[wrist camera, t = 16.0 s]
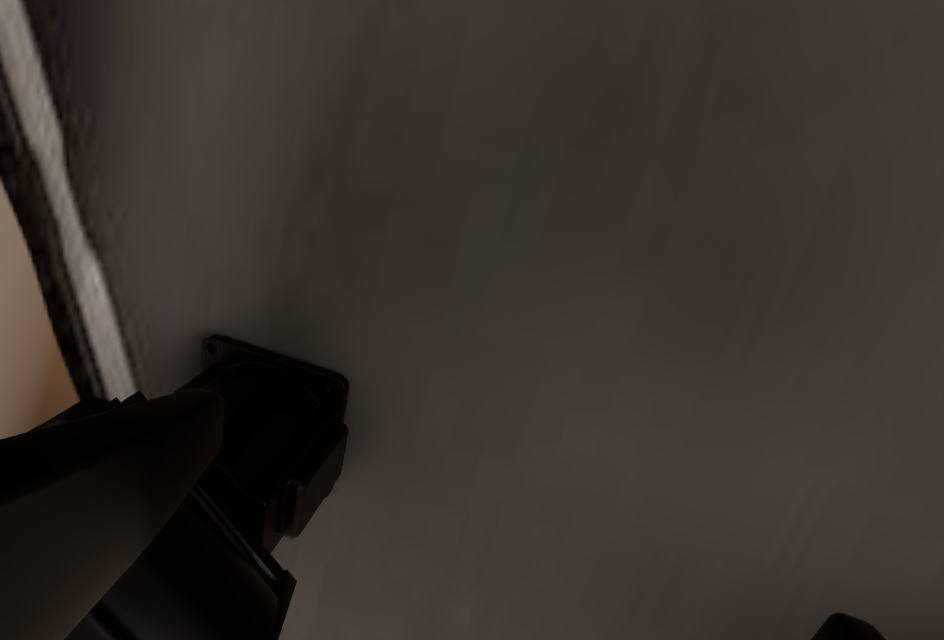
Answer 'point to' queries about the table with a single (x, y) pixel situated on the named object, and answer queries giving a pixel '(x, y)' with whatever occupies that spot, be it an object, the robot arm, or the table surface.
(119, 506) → the robot arm
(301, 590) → the table surface
